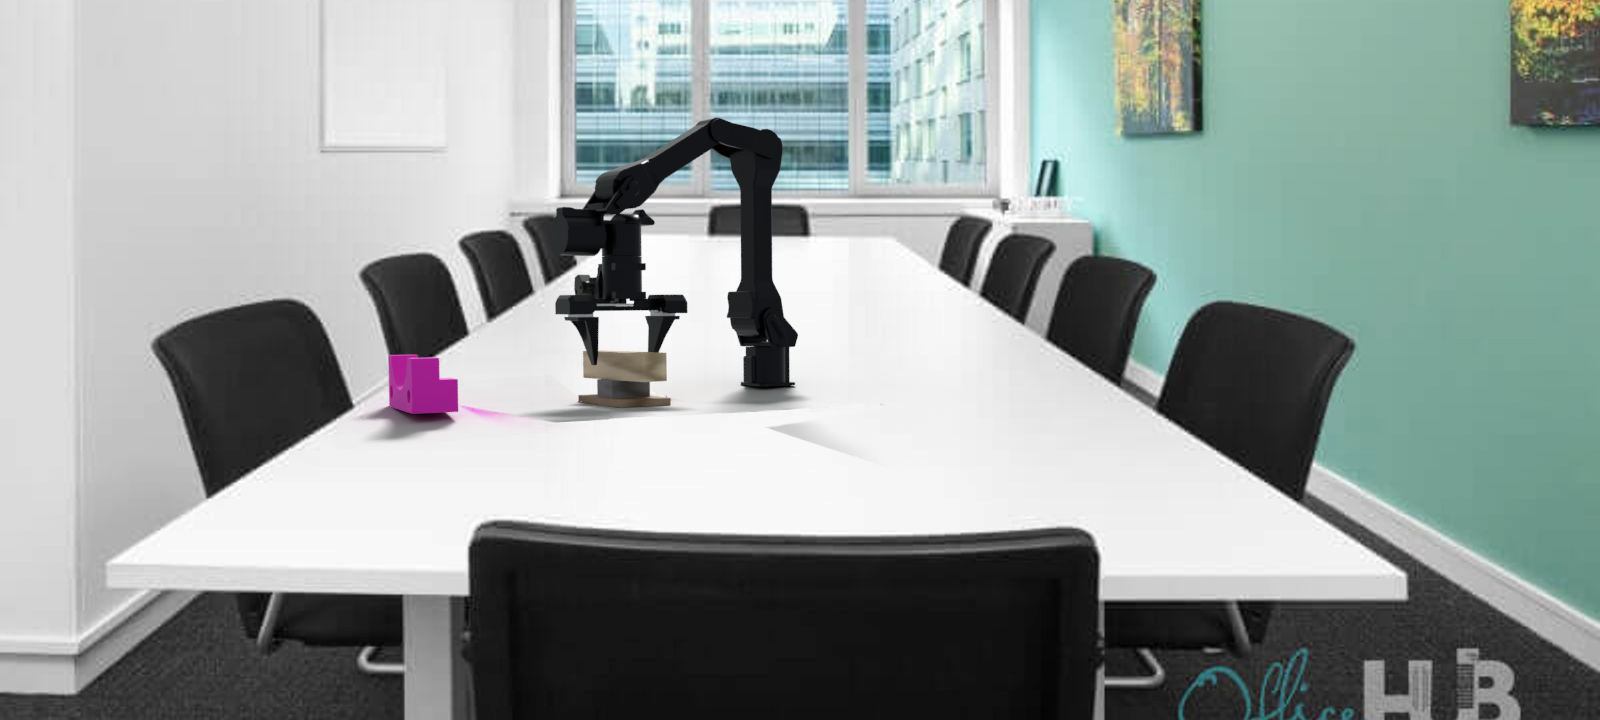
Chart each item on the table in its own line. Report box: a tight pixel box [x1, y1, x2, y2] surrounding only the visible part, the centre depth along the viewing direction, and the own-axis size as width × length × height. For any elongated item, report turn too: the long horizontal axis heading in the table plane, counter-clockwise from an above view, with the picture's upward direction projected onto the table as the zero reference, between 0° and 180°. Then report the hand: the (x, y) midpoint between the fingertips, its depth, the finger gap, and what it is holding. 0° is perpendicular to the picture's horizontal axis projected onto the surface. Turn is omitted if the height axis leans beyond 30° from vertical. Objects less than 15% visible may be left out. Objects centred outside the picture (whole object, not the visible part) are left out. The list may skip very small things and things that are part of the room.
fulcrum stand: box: [578, 379, 672, 409], centre depth 196 cm, size 8×14×4 cm, turn 33°
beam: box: [582, 349, 668, 383], centre depth 196 cm, size 4×16×4 cm, turn 40°
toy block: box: [387, 354, 459, 415], centre depth 191 cm, size 15×6×8 cm, turn 28°
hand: (623, 364), depth 196 cm, fingers open, 9 cm apart
